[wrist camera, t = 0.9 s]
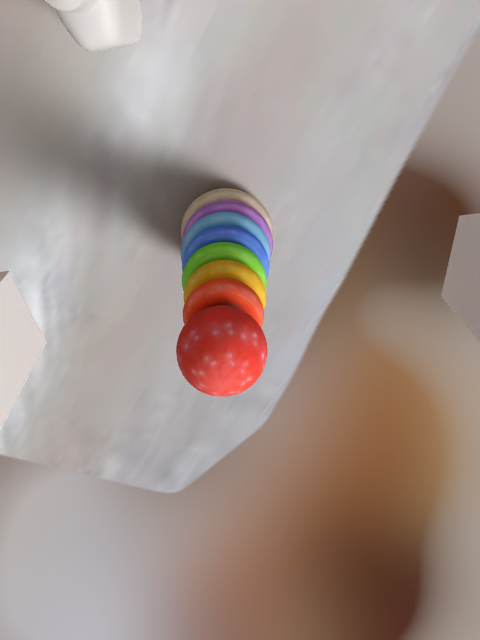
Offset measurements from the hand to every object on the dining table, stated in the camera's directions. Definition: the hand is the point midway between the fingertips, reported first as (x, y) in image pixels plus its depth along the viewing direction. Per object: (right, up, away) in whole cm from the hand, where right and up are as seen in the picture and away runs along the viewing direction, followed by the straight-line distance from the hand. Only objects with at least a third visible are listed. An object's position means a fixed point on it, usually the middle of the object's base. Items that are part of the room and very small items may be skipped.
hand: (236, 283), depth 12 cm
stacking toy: (-1, +7, +23) cm, 25 cm away
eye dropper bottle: (-8, +20, +14) cm, 25 cm away
